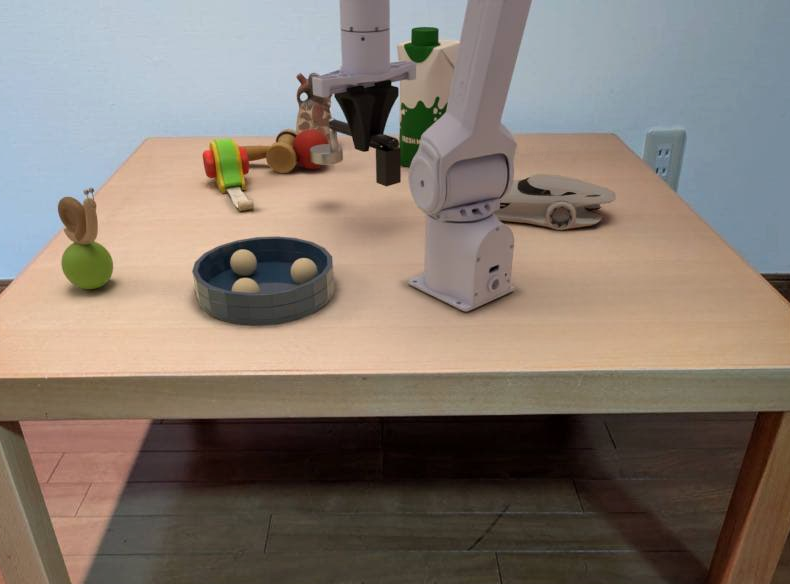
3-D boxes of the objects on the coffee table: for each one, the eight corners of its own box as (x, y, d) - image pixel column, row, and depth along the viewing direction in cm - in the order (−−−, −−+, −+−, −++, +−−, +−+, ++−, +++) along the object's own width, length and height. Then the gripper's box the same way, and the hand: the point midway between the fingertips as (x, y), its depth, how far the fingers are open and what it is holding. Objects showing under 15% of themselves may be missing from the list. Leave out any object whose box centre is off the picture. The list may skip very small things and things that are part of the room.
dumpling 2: (267, 305, 78) (264, 279, 77) (242, 314, 77) (239, 288, 75) (251, 295, 80) (248, 270, 78) (228, 304, 79) (224, 278, 77)
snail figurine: (96, 303, 80) (68, 196, 73) (58, 290, 83) (27, 186, 76) (133, 285, 84) (110, 181, 77) (96, 272, 87) (70, 171, 80)
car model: (439, 193, 108) (441, 159, 105) (609, 204, 104) (616, 168, 101) (428, 221, 99) (429, 185, 96) (613, 234, 95) (620, 196, 92)
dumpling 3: (323, 284, 82) (322, 259, 81) (301, 292, 81) (299, 267, 79) (308, 275, 84) (306, 251, 82) (286, 283, 83) (284, 258, 81)
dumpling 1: (263, 275, 84) (260, 250, 83) (240, 282, 83) (237, 258, 81) (249, 267, 86) (246, 243, 85) (227, 274, 85) (223, 250, 83)
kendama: (217, 182, 117) (326, 169, 114) (209, 140, 114) (320, 126, 111) (233, 175, 124) (336, 163, 121) (226, 136, 121) (331, 123, 118)
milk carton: (391, 165, 119) (391, 29, 107) (419, 151, 125) (421, 20, 113) (438, 174, 115) (443, 33, 103) (464, 159, 121) (472, 25, 110)
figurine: (335, 152, 125) (332, 77, 118) (294, 152, 125) (288, 77, 118) (338, 140, 131) (335, 68, 124) (298, 140, 131) (293, 68, 124)
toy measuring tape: (241, 169, 118) (236, 127, 115) (268, 209, 103) (264, 162, 100) (201, 173, 117) (195, 131, 113) (224, 215, 102) (217, 168, 98)
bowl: (361, 294, 81) (360, 265, 79) (244, 340, 74) (240, 309, 71) (284, 253, 91) (281, 226, 89) (173, 289, 83) (167, 261, 81)
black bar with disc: (304, 159, 100) (301, 115, 97) (330, 153, 103) (327, 109, 99) (383, 190, 90) (383, 141, 86) (410, 182, 92) (410, 134, 89)
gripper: (390, 18, 91) (390, 131, 99) (293, 31, 83) (302, 152, 91) (428, 24, 86) (426, 142, 94) (330, 39, 79) (336, 165, 87)
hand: (367, 148), depth 92 cm, fingers closed on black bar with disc
